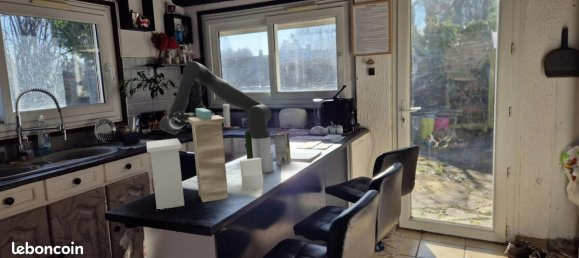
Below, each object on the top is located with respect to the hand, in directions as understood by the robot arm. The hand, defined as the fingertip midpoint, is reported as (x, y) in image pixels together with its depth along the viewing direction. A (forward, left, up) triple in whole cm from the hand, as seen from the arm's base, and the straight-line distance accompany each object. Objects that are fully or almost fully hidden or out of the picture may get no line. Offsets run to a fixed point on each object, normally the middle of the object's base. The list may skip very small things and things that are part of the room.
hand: (188, 113), depth 178 cm
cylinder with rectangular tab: (-22, +20, -33) cm, 44 cm away
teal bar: (-4, +19, 0) cm, 20 cm away
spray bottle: (-39, -36, -33) cm, 62 cm away
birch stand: (-4, +25, -32) cm, 41 cm away
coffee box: (-49, -16, -33) cm, 61 cm away
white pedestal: (+13, +25, -32) cm, 43 cm away
